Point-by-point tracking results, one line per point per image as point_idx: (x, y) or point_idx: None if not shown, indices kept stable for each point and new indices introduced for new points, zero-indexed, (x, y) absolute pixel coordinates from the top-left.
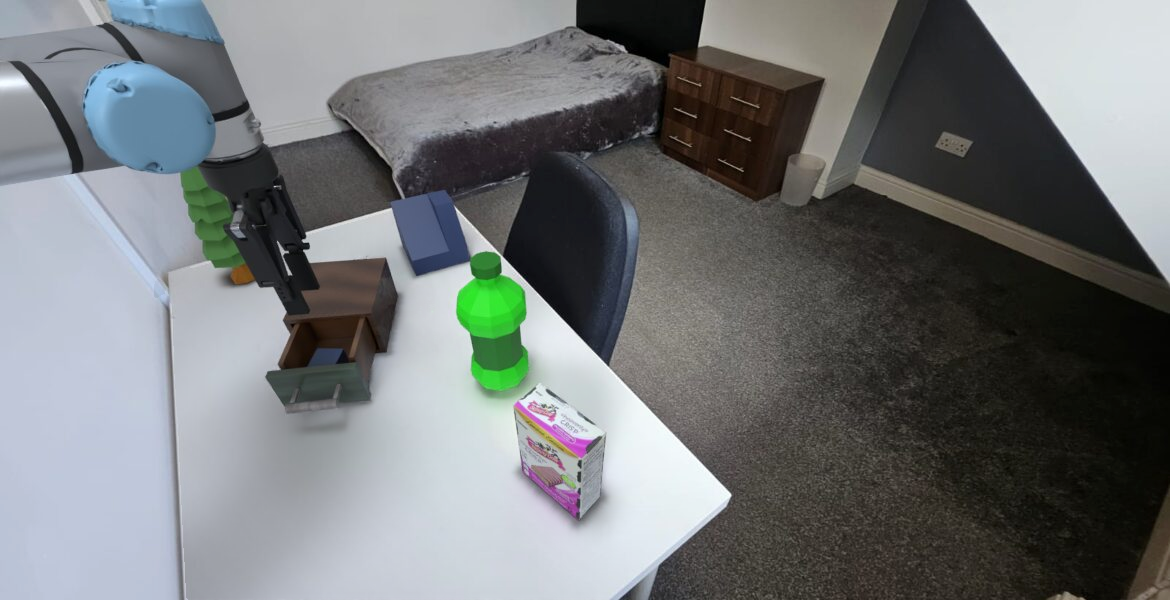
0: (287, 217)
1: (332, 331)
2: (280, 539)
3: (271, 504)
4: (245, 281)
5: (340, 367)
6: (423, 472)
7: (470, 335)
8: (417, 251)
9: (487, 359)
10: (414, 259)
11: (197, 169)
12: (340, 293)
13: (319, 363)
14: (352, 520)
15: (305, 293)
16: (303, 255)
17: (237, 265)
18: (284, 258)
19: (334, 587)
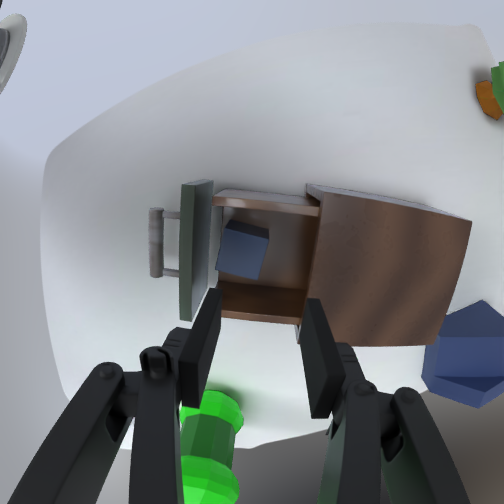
0: (403, 491)
1: None
2: (66, 211)
3: (92, 192)
4: (478, 96)
5: (183, 300)
6: (114, 327)
7: (191, 445)
8: (449, 346)
9: (181, 431)
10: (441, 340)
11: None
12: (372, 290)
13: (230, 247)
14: (77, 269)
15: (395, 225)
16: (311, 416)
17: (495, 95)
18: (325, 369)
19: (42, 260)
